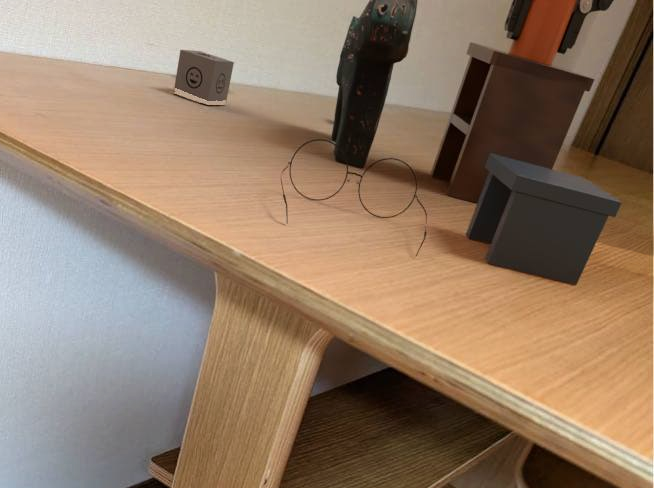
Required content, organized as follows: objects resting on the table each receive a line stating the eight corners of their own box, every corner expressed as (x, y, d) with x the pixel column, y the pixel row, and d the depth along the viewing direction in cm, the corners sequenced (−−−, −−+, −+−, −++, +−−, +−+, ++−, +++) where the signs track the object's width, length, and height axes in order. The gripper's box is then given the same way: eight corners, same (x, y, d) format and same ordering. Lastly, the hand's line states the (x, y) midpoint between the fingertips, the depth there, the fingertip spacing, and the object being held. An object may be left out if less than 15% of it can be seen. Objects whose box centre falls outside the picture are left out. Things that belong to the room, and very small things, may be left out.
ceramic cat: (374, 174, 90) (439, -43, 79) (317, 159, 89) (375, -62, 78) (363, 144, 106) (416, -40, 95) (315, 131, 106) (363, -55, 95)
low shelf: (550, 256, 76) (584, 178, 72) (582, 287, 69) (622, 202, 65) (459, 233, 75) (489, 152, 71) (482, 262, 68) (517, 174, 64)
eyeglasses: (428, 261, 64) (452, 195, 61) (272, 221, 63) (289, 152, 60) (412, 226, 73) (432, 166, 70) (275, 190, 72) (290, 129, 69)
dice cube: (192, 94, 107) (200, 51, 104) (225, 105, 106) (234, 62, 103) (173, 94, 103) (180, 49, 100) (207, 105, 102) (215, 60, 99)
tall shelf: (510, 195, 100) (561, 67, 92) (536, 218, 91) (594, 79, 83) (426, 173, 99) (470, 41, 91) (443, 194, 90) (494, 50, 82)
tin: (544, 63, 89) (568, -1, 86) (557, 67, 86) (584, 1, 82) (503, 51, 89) (526, -14, 85) (514, 55, 85) (539, -13, 82)
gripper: (553, -189, 73) (480, 30, 82) (698, -142, 75) (610, 67, 84) (530, -177, 79) (464, 25, 89) (664, -134, 81) (585, 60, 90)
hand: (535, 45), depth 86 cm, fingers closed on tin, 4 cm apart
